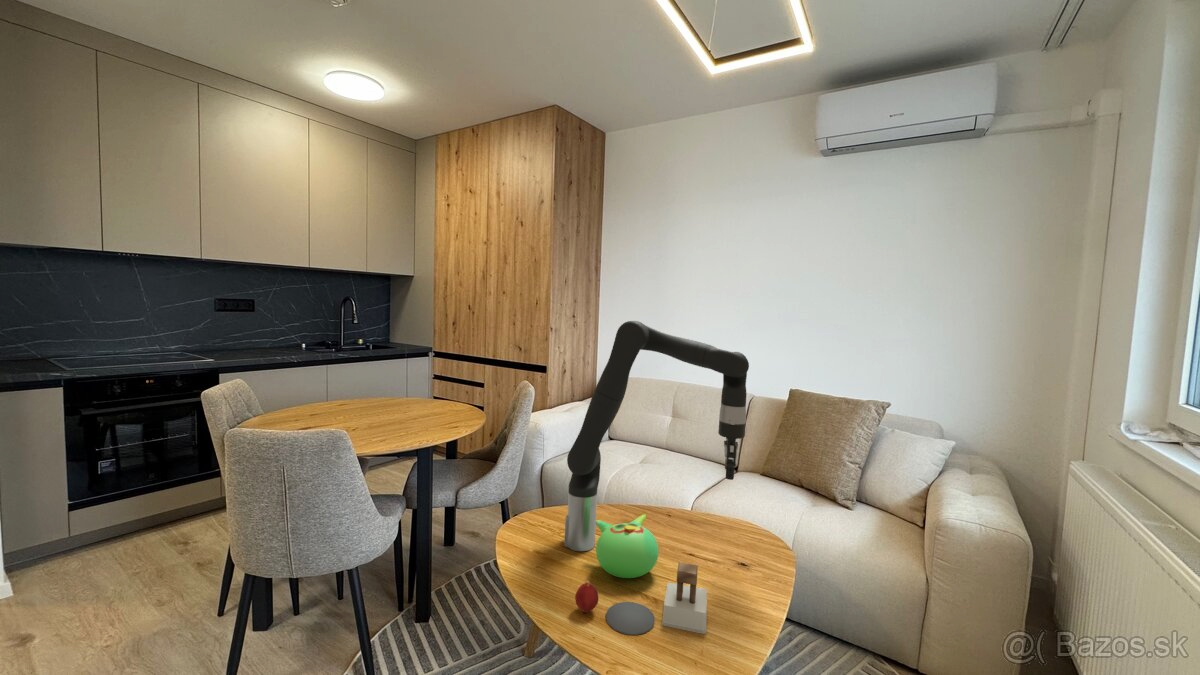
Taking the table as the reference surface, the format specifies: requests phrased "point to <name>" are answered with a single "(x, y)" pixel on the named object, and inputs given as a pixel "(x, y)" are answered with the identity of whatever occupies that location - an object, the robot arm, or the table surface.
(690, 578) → the walnut stool
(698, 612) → the white square box
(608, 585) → the table surface
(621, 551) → the toy bird
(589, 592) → the onion
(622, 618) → the charcoal felt mat
